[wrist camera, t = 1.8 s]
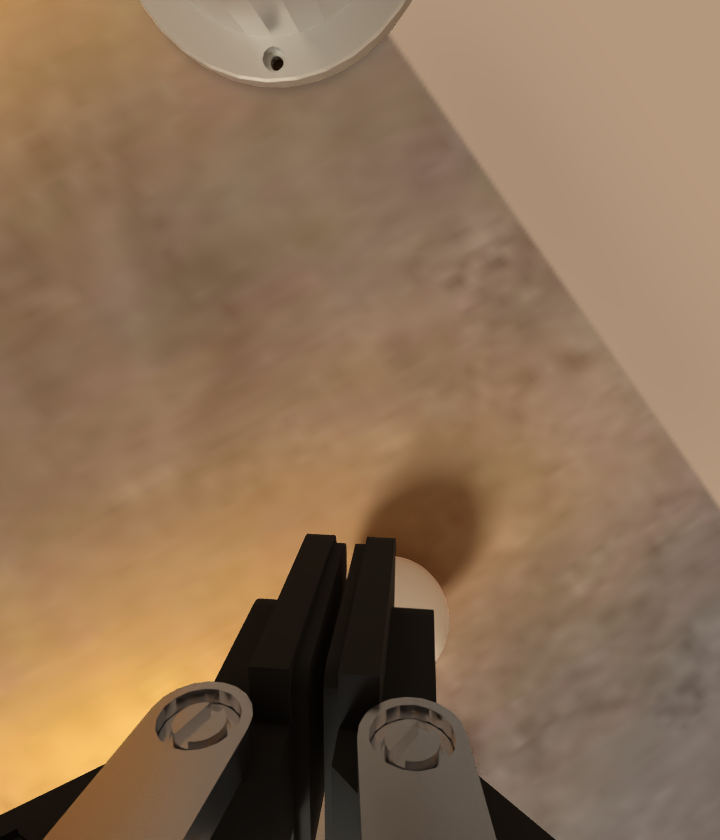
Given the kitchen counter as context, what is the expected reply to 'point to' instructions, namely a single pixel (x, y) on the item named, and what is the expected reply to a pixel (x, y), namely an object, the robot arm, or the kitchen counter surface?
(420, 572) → the cue ball
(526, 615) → the kitchen counter surface
